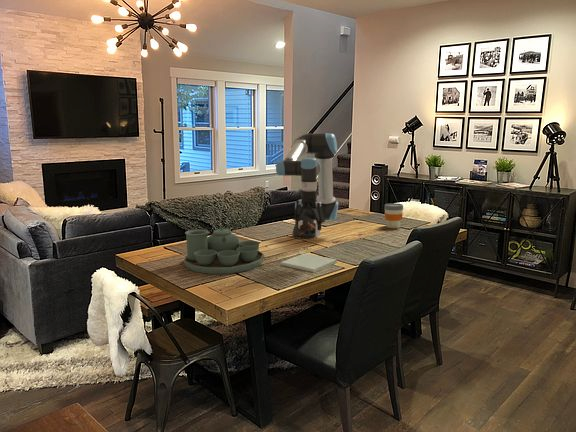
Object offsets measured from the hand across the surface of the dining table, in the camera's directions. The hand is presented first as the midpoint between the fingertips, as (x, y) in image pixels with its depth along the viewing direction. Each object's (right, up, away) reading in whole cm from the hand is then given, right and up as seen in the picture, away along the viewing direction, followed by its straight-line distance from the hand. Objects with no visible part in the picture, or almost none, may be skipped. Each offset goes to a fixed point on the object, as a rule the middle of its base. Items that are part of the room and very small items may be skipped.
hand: (309, 235), depth 228 cm
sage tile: (0, -14, +3) cm, 15 cm away
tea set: (-42, -15, +7) cm, 45 cm away
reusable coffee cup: (+61, +2, +86) cm, 105 cm away
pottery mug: (0, -1, 0) cm, 1 cm away
